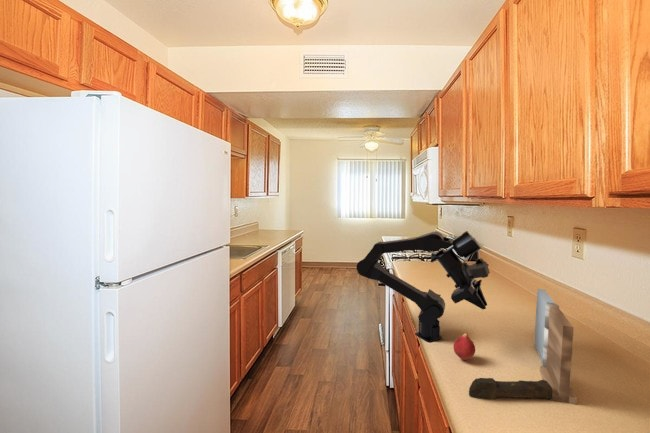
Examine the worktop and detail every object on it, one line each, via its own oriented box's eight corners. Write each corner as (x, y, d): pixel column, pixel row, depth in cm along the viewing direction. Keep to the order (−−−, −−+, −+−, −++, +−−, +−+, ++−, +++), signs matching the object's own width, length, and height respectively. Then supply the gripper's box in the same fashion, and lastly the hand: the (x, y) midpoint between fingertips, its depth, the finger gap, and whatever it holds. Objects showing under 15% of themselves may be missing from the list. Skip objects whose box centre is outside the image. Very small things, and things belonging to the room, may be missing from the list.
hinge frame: (550, 399, 79) (555, 324, 77) (536, 365, 94) (540, 302, 92) (576, 404, 77) (581, 328, 75) (558, 368, 92) (561, 304, 90)
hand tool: (542, 392, 82) (543, 374, 82) (553, 402, 78) (554, 383, 78) (464, 390, 83) (465, 373, 82) (471, 401, 79) (471, 382, 78)
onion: (454, 364, 95) (455, 336, 94) (451, 354, 100) (452, 328, 99) (476, 366, 93) (477, 339, 92) (472, 356, 99) (473, 330, 98)
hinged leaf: (543, 370, 91) (547, 306, 89) (532, 343, 106) (535, 288, 104) (556, 372, 89) (560, 307, 88) (543, 345, 104) (546, 289, 103)
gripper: (467, 263, 94) (504, 310, 92) (480, 244, 109) (512, 284, 106) (436, 281, 101) (470, 325, 98) (453, 260, 116) (482, 298, 113)
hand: (485, 307), depth 104 cm, fingers closed
